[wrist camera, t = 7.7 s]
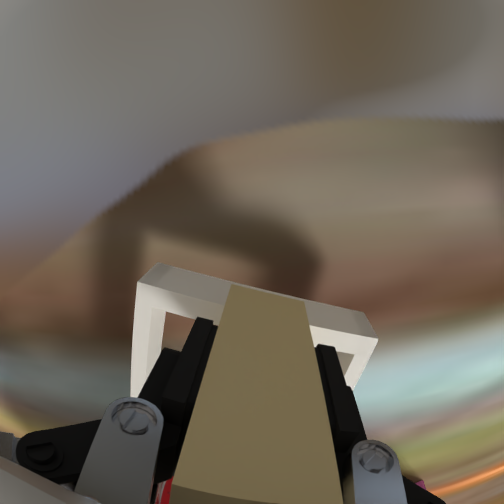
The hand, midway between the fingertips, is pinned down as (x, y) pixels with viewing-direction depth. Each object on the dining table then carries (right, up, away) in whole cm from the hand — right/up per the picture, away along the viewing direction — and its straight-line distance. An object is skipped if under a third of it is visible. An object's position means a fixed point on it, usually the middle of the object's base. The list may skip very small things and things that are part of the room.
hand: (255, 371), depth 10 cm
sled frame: (-2, -7, +8) cm, 11 cm away
